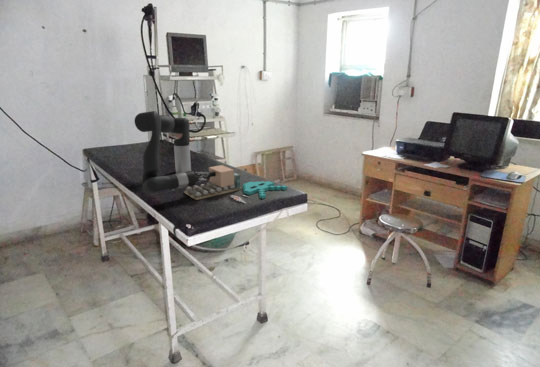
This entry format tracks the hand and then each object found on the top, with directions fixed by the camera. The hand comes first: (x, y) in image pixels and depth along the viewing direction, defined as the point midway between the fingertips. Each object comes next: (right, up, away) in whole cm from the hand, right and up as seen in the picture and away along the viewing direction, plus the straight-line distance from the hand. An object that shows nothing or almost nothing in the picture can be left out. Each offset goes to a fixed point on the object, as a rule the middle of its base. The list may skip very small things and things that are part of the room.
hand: (214, 173), depth 192 cm
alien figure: (+24, -9, +6) cm, 26 cm away
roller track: (-1, -9, +2) cm, 9 cm away
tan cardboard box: (+3, -5, +4) cm, 7 cm away
